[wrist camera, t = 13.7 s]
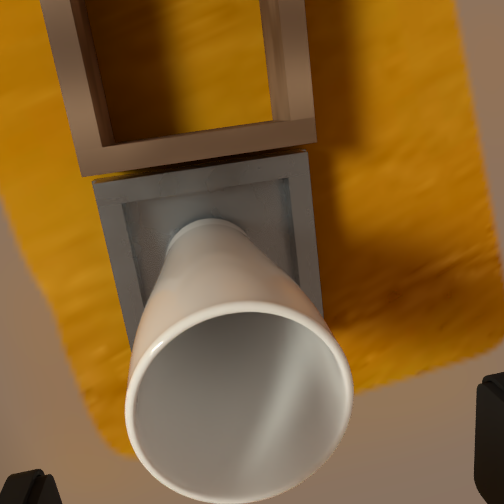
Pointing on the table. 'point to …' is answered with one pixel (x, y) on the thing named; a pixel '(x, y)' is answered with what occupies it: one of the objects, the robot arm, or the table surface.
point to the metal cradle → (208, 206)
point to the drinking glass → (233, 373)
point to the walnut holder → (192, 143)
